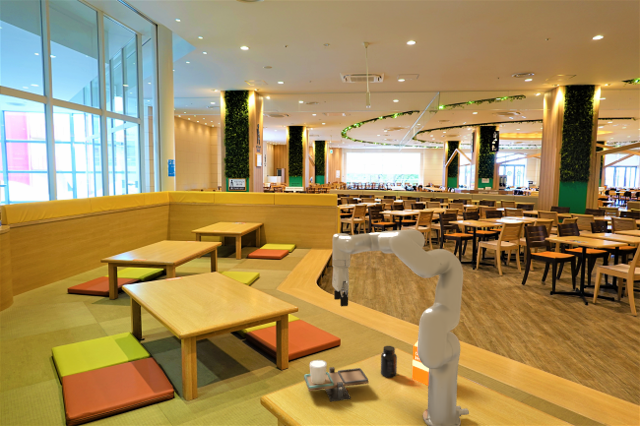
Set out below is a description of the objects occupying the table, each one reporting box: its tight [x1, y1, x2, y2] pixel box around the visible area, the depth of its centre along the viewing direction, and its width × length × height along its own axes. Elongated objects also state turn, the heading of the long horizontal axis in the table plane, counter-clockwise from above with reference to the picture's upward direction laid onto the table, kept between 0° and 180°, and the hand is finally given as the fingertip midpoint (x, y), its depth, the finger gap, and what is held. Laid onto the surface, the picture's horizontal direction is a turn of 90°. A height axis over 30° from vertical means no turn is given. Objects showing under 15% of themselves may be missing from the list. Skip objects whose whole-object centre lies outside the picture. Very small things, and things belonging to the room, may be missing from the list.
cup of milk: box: [309, 359, 328, 384], centre depth 152 cm, size 7×7×7 cm
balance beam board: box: [303, 367, 369, 392], centre depth 153 cm, size 24×10×2 cm, turn 103°
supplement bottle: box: [380, 345, 398, 379], centre depth 167 cm, size 7×7×12 cm
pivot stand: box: [324, 366, 352, 403], centre depth 154 cm, size 8×15×6 cm, turn 13°
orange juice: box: [412, 340, 429, 386], centre depth 163 cm, size 8×9×20 cm
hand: (340, 302), depth 163 cm, fingers open, 9 cm apart
